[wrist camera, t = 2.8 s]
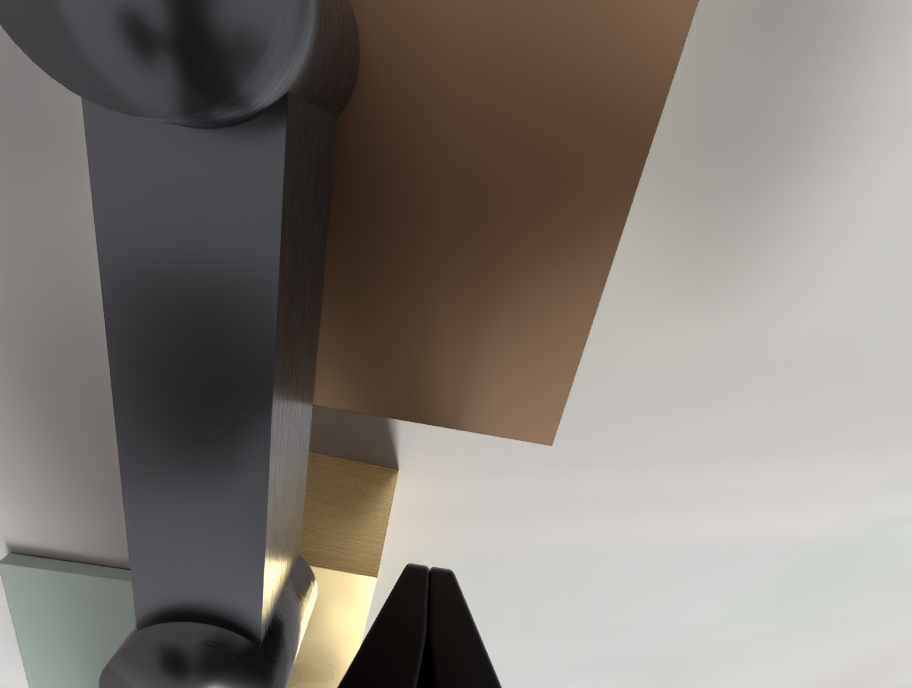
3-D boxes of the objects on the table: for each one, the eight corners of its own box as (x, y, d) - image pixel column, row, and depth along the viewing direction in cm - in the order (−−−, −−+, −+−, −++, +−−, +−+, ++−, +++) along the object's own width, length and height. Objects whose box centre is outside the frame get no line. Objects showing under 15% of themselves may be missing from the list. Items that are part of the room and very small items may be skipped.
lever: (311, 637, 9) (262, 793, 7) (183, 620, 9) (86, 776, 6) (388, -44, 5) (327, -247, 3) (150, -104, 5) (-143, -377, 2)
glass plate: (220, 721, 18) (215, 732, 17) (44, 700, 17) (34, 711, 17) (220, 583, 15) (214, 593, 14) (9, 553, 14) (-3, 563, 14)
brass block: (367, 600, 15) (338, 735, 12) (241, 578, 15) (169, 710, 11) (399, 466, 13) (376, 577, 10) (254, 437, 13) (171, 541, 9)
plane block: (517, 350, 12) (551, 445, 7) (259, 302, 11) (140, 375, 7) (596, 56, 9) (715, -50, 5) (270, -21, 9) (94, -212, 4)
